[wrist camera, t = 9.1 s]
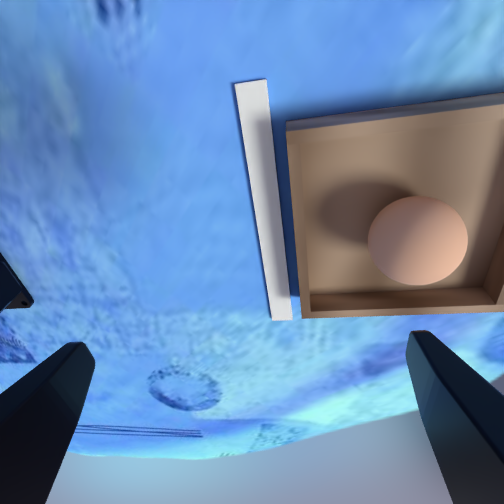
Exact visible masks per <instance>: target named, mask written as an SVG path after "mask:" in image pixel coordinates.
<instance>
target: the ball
mask: <svg viewBox="0 0 504 504" xmlns="http://www.w3.org/2000/svg"><path fill="white" fill-rule="evenodd" d="M467 245H468V235H467V229H466V227H465V224H464V222H463V220H462V218H461V217H460V215H459V214H458V213H457V212H456V211H455V210H454V209H453V208H452V207H451V206H449V205H448V204H446V203H444V202H442V201H440V200H438V199H435V198H431V197H426V196H411V197H406V198H402V199H399V200H396V201H394V202H392V203H391V204H389V205H388V206H386V207H385V208H384V209H382V210H381V211H380V212H379V214H378V215H377V216H376V217H375V219H374V221H373V222H372V224H371V227H370V230H369V234H368V249H369V253H370V256H371V258H372V260H373V262H374V264H375V265H376V266H377V267H378V269H379V270H380V271H381V272H382V273H383V274H385V275H386V276H387V277H389V278H391V279H393V280H395V281H397V282H400V283H403V284H408V285H427V284H431V283H435V282H437V281H440V280H442V279H444V278H445V277H447V276H448V275H450V274H451V273H452V272H453V271H454V270H455V269H456V268H457V267H458V266H459V265H460V263H461V262H462V260H463V258H464V256H465V253H466V251H467Z"/></svg>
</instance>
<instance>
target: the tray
mask: <svg viewBox="0 0 504 504" xmlns="http://www.w3.org/2000/svg"><path fill="white" fill-rule="evenodd" d="M286 140H287V152H288V164H289V175H290V187H291V198H292V210H293V221H294V233H295V245H296V256H297V268H298V279H299V291H300V302H301V314H302V319H305V318H335V317H364V316H394V315H423V314H453V313H482V312H504V92H502V93H495V94H487V95H480V96H472V97H465V98H457V99H449V100H442V101H434V102H427V103H419V104H412V105H404V106H396V107H389V108H381V109H374V110H366V111H358V112H351V113H343V114H336V115H328V116H321V117H313V118H305V119H298V120H290V121H286ZM411 196H426V197H431V198H435V199H438V200H440V201H442V202H444V203H446V204H448V205H449V206H451V207H452V208H453V209H454V210H455V211H456V212H457V213H458V214H459V215H460V217H461V218H462V220H463V222H464V224H465V227H466V229H467V235H468V245H467V251H466V253H465V256H464V258H463V260H462V262H461V263H460V265H459V266H458V267H457V268H456V269H455V270H454V271H453V272H452V273H451V274H450V275H448V276H447V277H445V278H444V279H442V280H440V281H437V282H435V283H431V284H427V285H408V284H403V283H400V282H397V281H395V280H393V279H391V278H389V277H387V276H386V275H385V274H383V273H382V272H381V271H380V270H379V269H378V267H377V266H376V265H375V264H374V262H373V260H372V258H371V256H370V253H369V249H368V234H369V230H370V227H371V224H372V222H373V221H374V219H375V217H376V216H377V215H378V214H379V212H380V211H381V210H382V209H384V208H385V207H386V206H388V205H389V204H391V203H392V202H394V201H396V200H399V199H402V198H406V197H411Z"/></svg>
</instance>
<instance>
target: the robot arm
mask: <svg viewBox="0 0 504 504" xmlns="http://www.w3.org/2000/svg"><path fill="white" fill-rule="evenodd" d="M33 303H34V300H33V298H32V297H31V296H30V294H29V293H28V291H27V290H26V289H25V287H24V286H23V284H22V283H21V281H20V280H19V279H18V277H17V276H16V274H15V273H14V272H13V270H12V269H11V267H10V266H9V265H8V263H7V262H6V260H5V259H4V258H3V256H2V255H1V253H0V313H1V312H2V311H3V310H4V309H16V308H30V307H31V306H32V304H33ZM406 361H407V365H408V369H409V373H410V377H411V380H412V384H413V388H414V392H415V396H416V400H417V404H418V408H419V411H420V415H421V419H422V421H423V424H424V427H425V430H426V433H427V436H428V438H429V441H430V443H431V446H432V449H433V451H434V454H435V457H436V459H437V462H438V464H439V467H440V470H441V473H442V475H443V478H444V481H445V483H446V486H447V488H448V491H449V494H450V496H451V499H452V501H453V504H504V395H502V394H501V393H500V392H499V391H498V390H497V389H495V387H493V386H492V385H491V384H490V383H489V382H488V381H486V380H485V379H484V378H483V377H482V376H481V375H479V374H478V373H477V372H476V371H475V370H474V369H473V368H471V367H470V366H469V365H468V364H467V363H466V362H464V361H463V360H462V359H461V358H460V357H459V356H457V355H456V354H455V353H454V352H453V351H452V350H451V349H449V348H448V347H447V346H446V345H445V344H444V343H442V342H441V341H440V340H439V339H438V338H437V337H435V336H434V335H433V334H432V333H431V332H429V331H426V330H419V331H411V332H410V334H409V338H408V343H407V348H406ZM94 369H95V359H94V357H93V356H92V354H91V352H90V351H89V349H88V348H87V346H86V344H85V343H83V342H69V343H67V344H65V345H64V346H63V347H61V348H60V349H59V350H57V351H56V352H55V353H53V354H52V355H51V356H50V357H48V358H47V359H46V360H44V361H43V362H42V363H40V364H39V365H38V366H36V367H35V368H34V369H33V370H31V371H30V372H29V373H27V374H26V375H25V376H23V377H22V378H21V379H19V380H18V381H17V382H16V383H14V384H13V385H12V386H10V387H9V388H8V389H6V390H5V391H4V392H2V393H1V394H0V504H45V503H46V501H47V498H48V496H49V493H50V491H51V488H52V486H53V483H54V481H55V478H56V476H57V473H58V471H59V469H60V466H61V464H62V461H63V459H64V456H65V454H66V451H67V449H68V446H69V444H70V441H71V439H72V436H73V434H74V432H75V429H76V426H77V424H78V421H79V418H80V415H81V412H82V409H83V406H84V402H85V399H86V396H87V392H88V389H89V386H90V382H91V379H92V376H93V372H94Z"/></svg>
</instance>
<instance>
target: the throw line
mask: <svg viewBox="0 0 504 504" xmlns="http://www.w3.org/2000/svg"><path fill="white" fill-rule="evenodd" d="M235 89H236V95H237V101H238V108H239V114H240V120H241V127H242V133H243V139H244V145H245V152H246V158H247V164H248V170H249V177H250V183H251V189H252V196H253V202H254V208H255V214H256V221H257V227H258V233H259V239H260V246H261V252H262V258H263V265H264V271H265V277H266V283H267V290H268V296H269V302H270V309H271V315H272V321H276V320H293V318H292V308H291V299H290V290H289V281H288V272H287V263H286V254H285V244H284V235H283V226H282V217H281V208H280V199H279V189H278V180H277V171H276V162H275V153H274V144H273V134H272V125H271V116H270V107H269V98H268V89H267V80H266V79H262V80H256V81H249V82H243V83H236V84H235Z"/></svg>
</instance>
